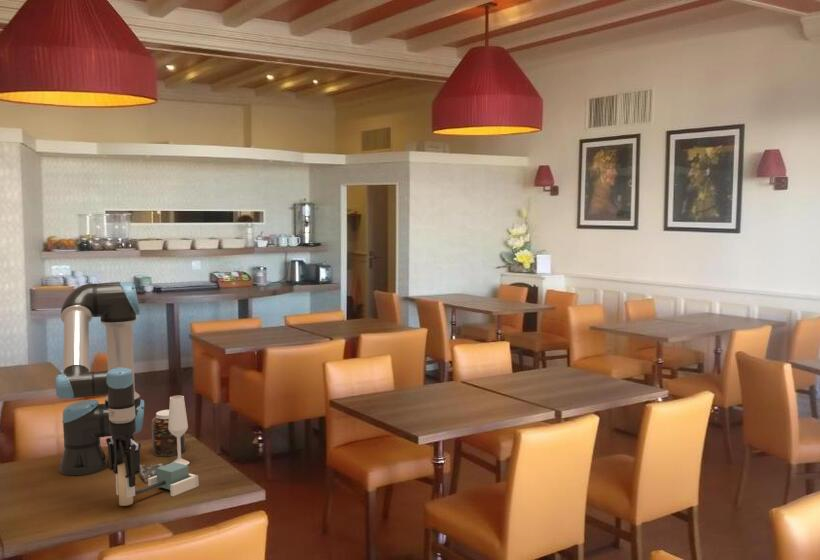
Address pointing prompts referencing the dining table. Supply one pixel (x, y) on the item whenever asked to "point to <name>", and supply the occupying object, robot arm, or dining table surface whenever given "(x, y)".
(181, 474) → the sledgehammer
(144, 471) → the egg carton
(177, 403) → the champagne flute
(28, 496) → the dining table surface
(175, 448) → the jar
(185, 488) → the white u-shaped bracket
